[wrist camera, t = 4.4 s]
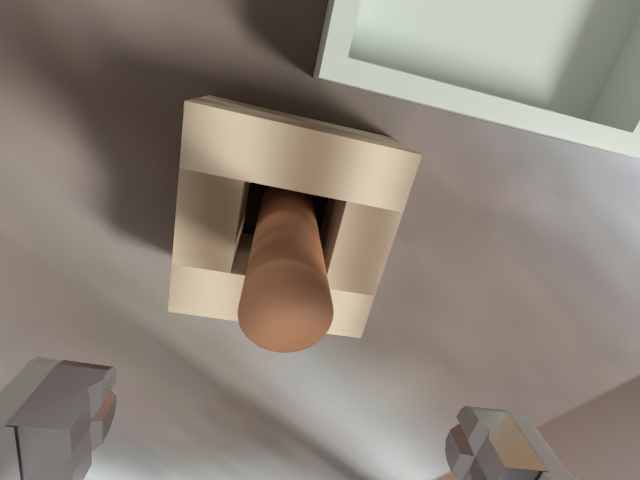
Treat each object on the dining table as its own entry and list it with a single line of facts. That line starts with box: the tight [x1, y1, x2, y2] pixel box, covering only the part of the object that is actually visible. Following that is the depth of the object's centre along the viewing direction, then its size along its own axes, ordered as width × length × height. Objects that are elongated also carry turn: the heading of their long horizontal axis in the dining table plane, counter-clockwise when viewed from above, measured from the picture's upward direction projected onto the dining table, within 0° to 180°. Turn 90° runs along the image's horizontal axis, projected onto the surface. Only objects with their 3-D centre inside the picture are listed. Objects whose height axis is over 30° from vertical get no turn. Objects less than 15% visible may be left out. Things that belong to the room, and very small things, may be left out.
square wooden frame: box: [168, 95, 422, 338], centre depth 19 cm, size 10×10×5 cm
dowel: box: [238, 186, 334, 353], centre depth 16 cm, size 3×3×11 cm
